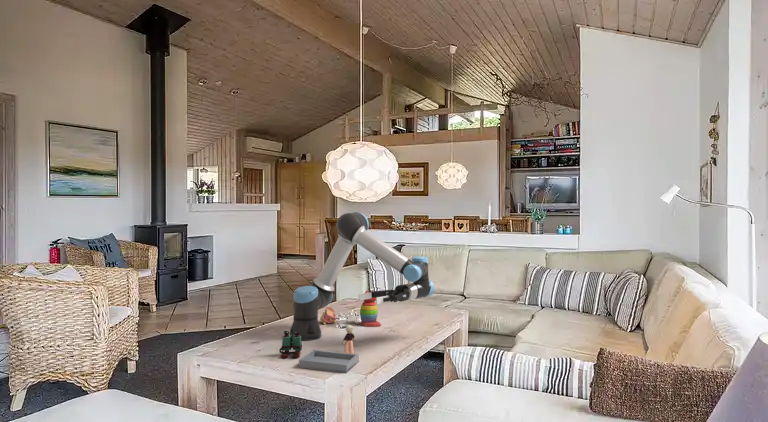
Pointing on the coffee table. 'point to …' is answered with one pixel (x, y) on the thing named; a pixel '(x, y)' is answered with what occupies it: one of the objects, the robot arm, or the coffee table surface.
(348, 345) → the grandmother figurine
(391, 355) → the coffee table surface
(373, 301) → the stacking bear
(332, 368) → the tray
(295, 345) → the binoculars
